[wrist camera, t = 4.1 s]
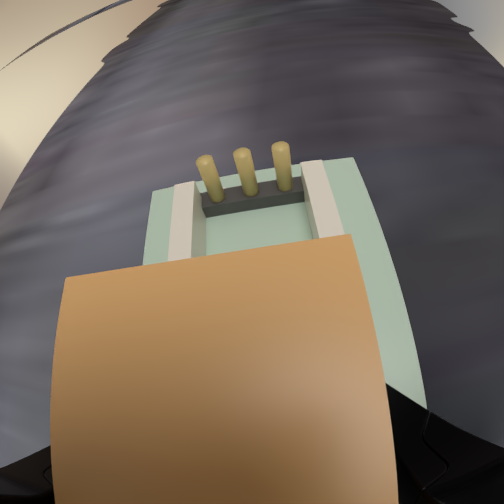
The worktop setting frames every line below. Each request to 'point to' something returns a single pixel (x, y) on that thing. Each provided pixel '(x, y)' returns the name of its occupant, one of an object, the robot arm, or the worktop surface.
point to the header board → (289, 233)
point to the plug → (222, 382)
